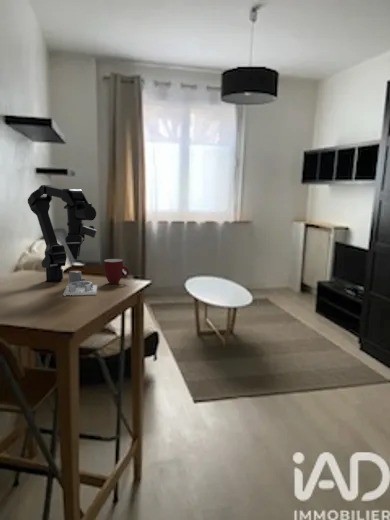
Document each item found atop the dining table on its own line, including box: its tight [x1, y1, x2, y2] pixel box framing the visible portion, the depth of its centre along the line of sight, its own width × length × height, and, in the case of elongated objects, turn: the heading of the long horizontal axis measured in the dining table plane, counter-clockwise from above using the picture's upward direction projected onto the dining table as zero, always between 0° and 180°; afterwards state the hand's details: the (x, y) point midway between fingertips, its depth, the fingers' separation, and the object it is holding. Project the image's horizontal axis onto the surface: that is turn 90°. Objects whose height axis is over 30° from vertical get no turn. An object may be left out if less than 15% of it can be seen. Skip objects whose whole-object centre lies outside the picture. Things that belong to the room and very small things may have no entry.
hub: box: [63, 280, 98, 297], centre depth 159 cm, size 12×12×3 cm
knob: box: [68, 270, 86, 285], centre depth 168 cm, size 6×5×6 cm
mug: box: [103, 258, 130, 285], centre depth 174 cm, size 11×8×10 cm
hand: (76, 257), depth 166 cm, fingers open, 9 cm apart
